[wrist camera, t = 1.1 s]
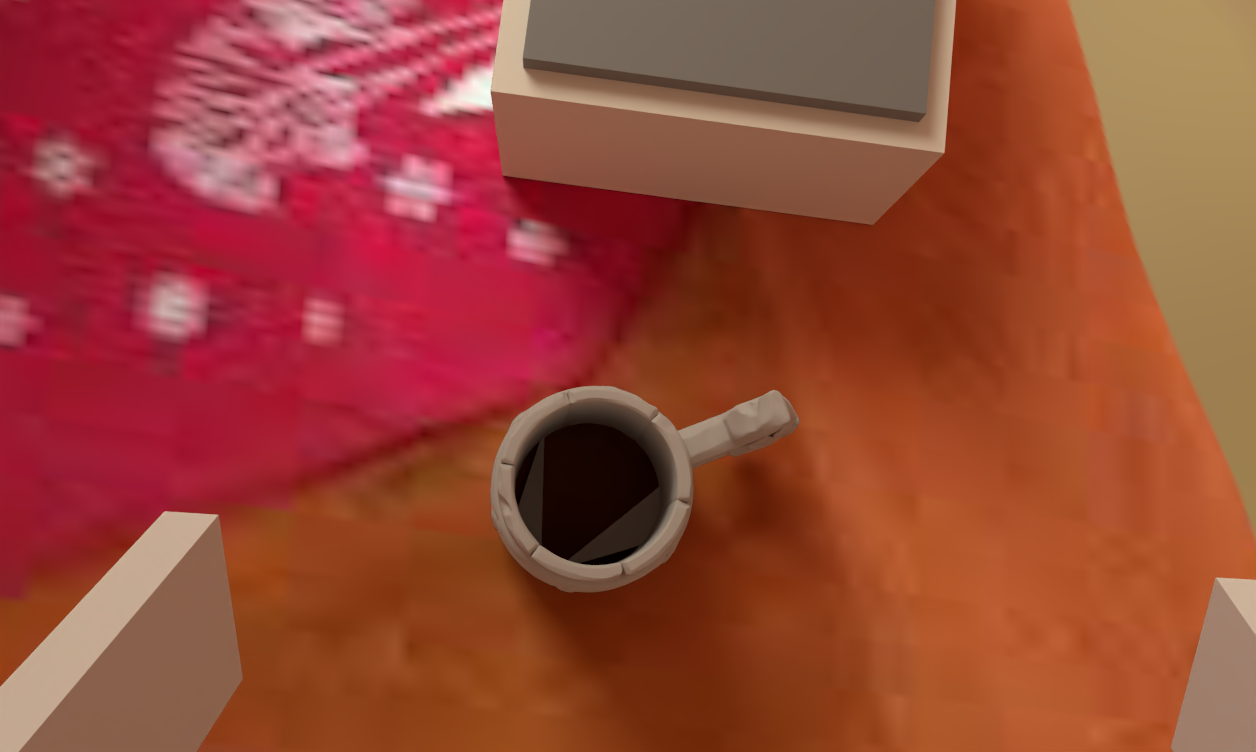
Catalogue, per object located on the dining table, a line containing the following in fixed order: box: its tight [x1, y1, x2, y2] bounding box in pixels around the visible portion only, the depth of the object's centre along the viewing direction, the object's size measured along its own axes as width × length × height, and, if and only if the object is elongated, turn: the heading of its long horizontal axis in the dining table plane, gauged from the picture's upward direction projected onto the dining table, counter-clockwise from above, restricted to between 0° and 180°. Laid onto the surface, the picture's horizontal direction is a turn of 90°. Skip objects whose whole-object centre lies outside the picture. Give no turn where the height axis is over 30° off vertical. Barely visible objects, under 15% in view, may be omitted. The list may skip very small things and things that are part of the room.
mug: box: [490, 386, 800, 593], centre depth 40 cm, size 8×12×12 cm, turn 112°
